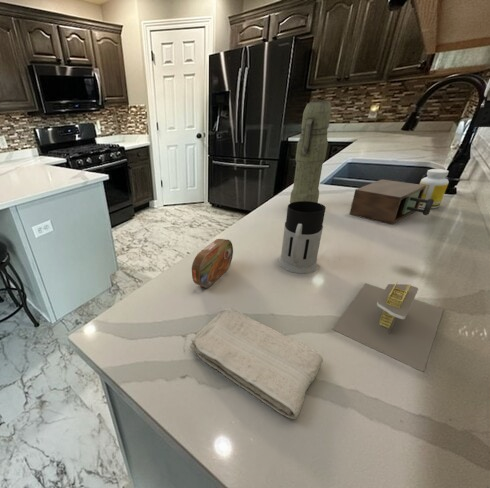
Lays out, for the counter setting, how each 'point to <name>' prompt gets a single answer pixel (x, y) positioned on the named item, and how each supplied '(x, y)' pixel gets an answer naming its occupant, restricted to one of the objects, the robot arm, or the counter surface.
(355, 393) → the counter surface
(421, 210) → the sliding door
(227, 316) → the washcloth
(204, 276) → the tin
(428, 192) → the pill bottle
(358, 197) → the cabinet
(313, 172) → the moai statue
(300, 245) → the glass holder
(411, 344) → the platform
